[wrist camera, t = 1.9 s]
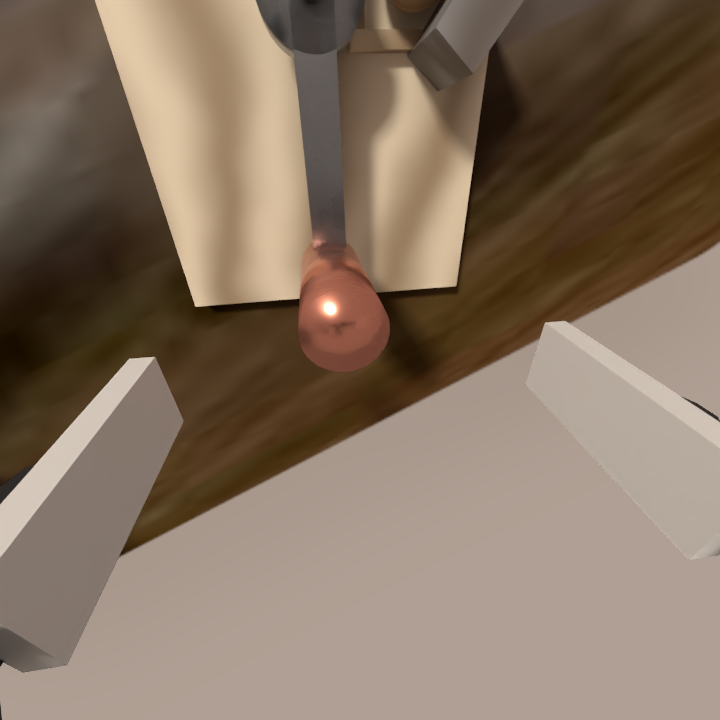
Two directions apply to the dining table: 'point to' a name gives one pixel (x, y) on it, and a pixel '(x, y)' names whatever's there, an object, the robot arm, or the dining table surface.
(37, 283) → the dining table surface
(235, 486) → the dining table surface
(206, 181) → the tapered cream board
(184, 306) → the dining table surface
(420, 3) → the walnut
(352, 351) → the lever
